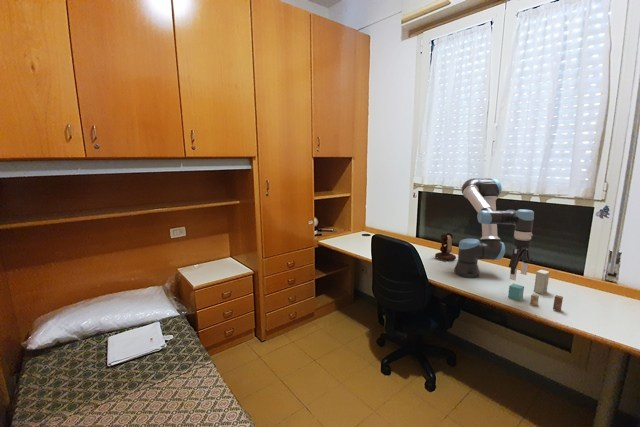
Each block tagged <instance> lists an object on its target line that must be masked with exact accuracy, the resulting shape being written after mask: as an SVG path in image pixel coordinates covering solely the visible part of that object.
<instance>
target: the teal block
mask: <svg viewBox="0 0 640 427" xmlns="http://www.w3.org/2000/svg"><path fill="white" fill-rule="evenodd" d="M524 291H525V286H524V285H521V284H517V283H512V284H510V285H509V287H508V292H507V293H508V294H507V297H508V298H509V299H514V300H515V301H520V300H522V299H523V298H524Z"/></svg>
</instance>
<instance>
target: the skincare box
mask: <svg viewBox="0 0 640 427" xmlns="http://www.w3.org/2000/svg"><path fill="white" fill-rule="evenodd" d="M535 272H536V275H535V279H534V280H535V281H534V285H533V287H534V288H533V292H535V293H539V294H541V295H543V294H544V293H546V292H548V286H549V279H550V271H549V270H545V269H539V270H537V271H535Z"/></svg>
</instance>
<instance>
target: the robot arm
mask: <svg viewBox="0 0 640 427" xmlns="http://www.w3.org/2000/svg"><path fill="white" fill-rule="evenodd" d="M502 189H503V188H502V184H501V182H500V180H498V178H486V177H485V178H477V177H476V178H469V179H468V180H466V181H465V182H463V184H462V185H461V194H462V196H463V197H464V198H465V199H467V200H468V201H469V202H470V204H471V205H472V207H473V208H474V210H475V211H476V213H477V215H476V217H477V218H476V219H477V222H478V223H479V224H481V230H482V231H481V237H480V238H479V239H477V238H463V239H461V240H460V241H459V244H458V255H457V262H456V265H455V267H454V268H453V274H455V275H457V276H459V277H463V278H468V279H475V278H479V277H480V269H479V265H478V263H479V262H478V260H488V261H497V260H498V261H499V260H502V259H503V257H504V256H505V253H506V245H505V243H504V242H502V241H501V238H500V237H499V236H498V225H513V226H514V231H513V232H514V234H513V243H512V244H513V246H514V247H516V248H513V250H512V254H511V257H510V261H509V264H508V268H510V273H509V280H512V281H516V280H517V273H518V272H517V271H518V268H517V267H518V265H519V262H520V260H522V262H521V265H520V266H521V268H520V273H519V274H521V275H523V276H527V275H528V264H530V263H531V257H530V248H531V244H532V243H531V242H532V241H531V240H532V237H533V235H534V234H533V228H534V219H535V217H534V216H535V211H533V210H531V209H521V208H520V209H517V210H514V209H507V210H497V206H496V204H497V202H496V201H497V199H499V196H501V194H502V191H503V190H502Z"/></svg>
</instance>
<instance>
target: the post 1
mask: <svg viewBox="0 0 640 427" xmlns="http://www.w3.org/2000/svg"><path fill="white" fill-rule="evenodd" d="M538 304H539V295H537V294H535V293H532V294H531V295H530V301H529V305H532V306H535V307H536V306H538Z"/></svg>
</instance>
